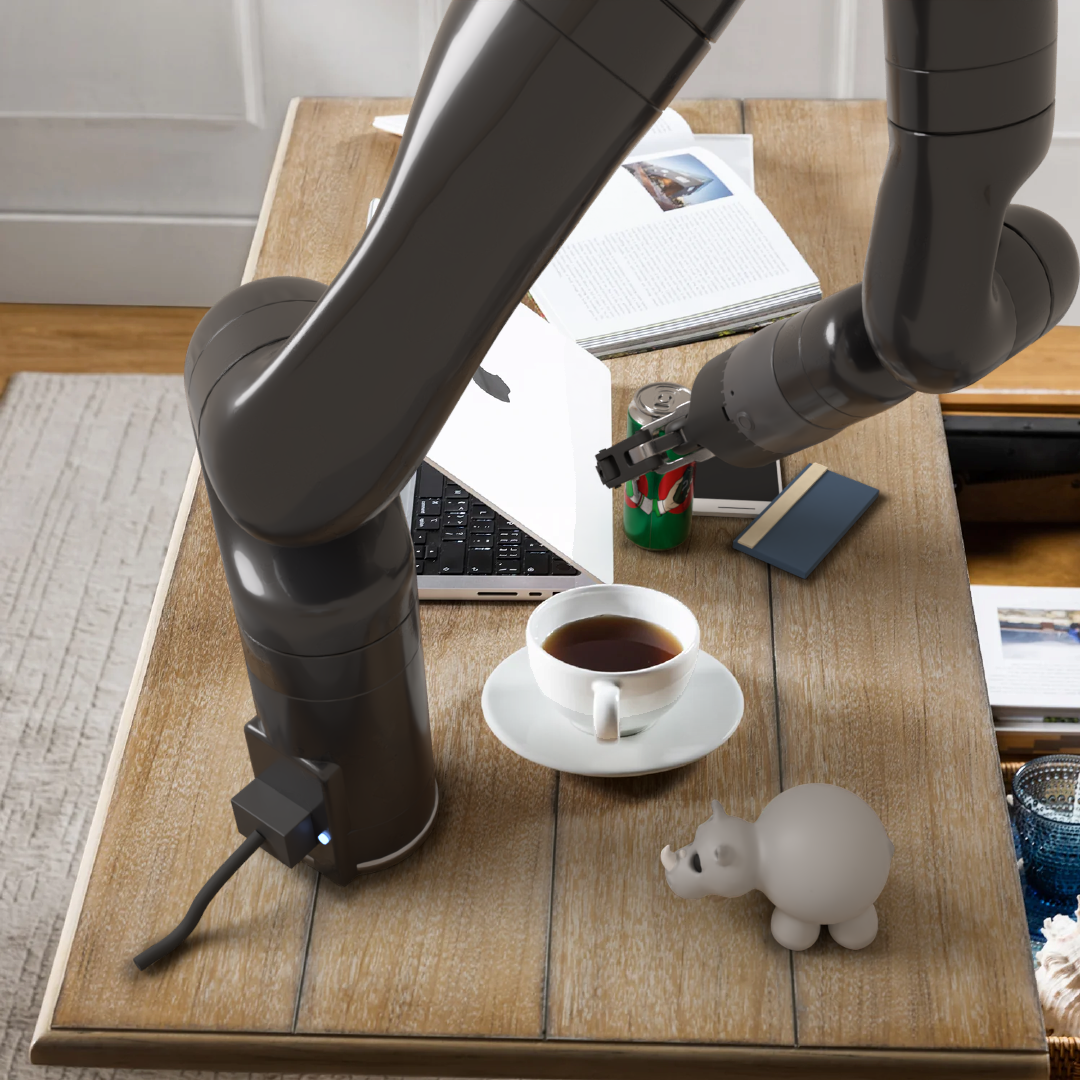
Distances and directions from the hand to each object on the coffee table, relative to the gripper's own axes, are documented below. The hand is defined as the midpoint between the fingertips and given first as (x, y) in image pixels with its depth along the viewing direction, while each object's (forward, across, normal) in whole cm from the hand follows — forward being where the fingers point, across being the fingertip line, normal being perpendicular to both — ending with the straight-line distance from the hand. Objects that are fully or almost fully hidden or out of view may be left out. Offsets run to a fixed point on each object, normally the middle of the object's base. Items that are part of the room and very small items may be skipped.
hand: (653, 453), depth 91 cm
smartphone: (+8, -11, +3) cm, 14 cm away
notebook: (+1, -10, +9) cm, 14 cm away
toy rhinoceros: (-16, +14, +26) cm, 34 cm away
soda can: (+5, 0, +6) cm, 7 cm away
